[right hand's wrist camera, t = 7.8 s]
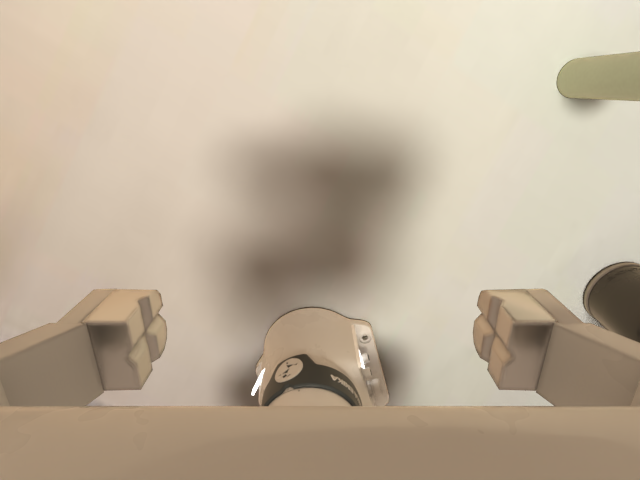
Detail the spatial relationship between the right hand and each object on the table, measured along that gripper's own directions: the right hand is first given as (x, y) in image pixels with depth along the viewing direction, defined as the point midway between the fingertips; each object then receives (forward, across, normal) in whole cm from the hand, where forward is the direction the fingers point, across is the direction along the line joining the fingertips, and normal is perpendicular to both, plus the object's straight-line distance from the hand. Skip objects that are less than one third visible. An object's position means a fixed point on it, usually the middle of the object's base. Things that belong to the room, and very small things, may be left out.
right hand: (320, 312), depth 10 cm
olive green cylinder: (+40, +29, +6) cm, 50 cm away
